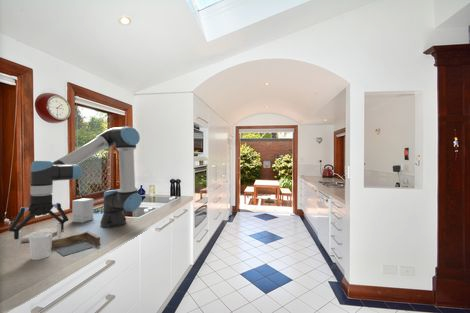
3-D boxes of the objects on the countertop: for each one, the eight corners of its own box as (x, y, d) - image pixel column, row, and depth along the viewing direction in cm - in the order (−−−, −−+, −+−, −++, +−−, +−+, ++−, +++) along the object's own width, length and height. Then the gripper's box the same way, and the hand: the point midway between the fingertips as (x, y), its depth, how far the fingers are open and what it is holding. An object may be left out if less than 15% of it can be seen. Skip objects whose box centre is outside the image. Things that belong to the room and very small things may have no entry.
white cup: (33, 254, 99) (34, 232, 99) (55, 251, 102) (55, 230, 102) (25, 262, 92) (25, 238, 92) (48, 258, 95) (48, 236, 95)
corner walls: (88, 238, 118) (88, 231, 118) (100, 244, 110) (100, 237, 110) (50, 248, 105) (50, 240, 105) (60, 256, 97) (60, 248, 97)
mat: (83, 241, 114) (83, 241, 114) (92, 247, 107) (92, 246, 107) (54, 249, 104) (54, 248, 104) (63, 256, 97) (63, 255, 97)
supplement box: (93, 219, 154) (94, 198, 154) (83, 222, 146) (83, 201, 146) (83, 218, 156) (83, 197, 156) (71, 222, 147) (72, 200, 147)
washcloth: (65, 231, 131) (65, 226, 131) (43, 242, 113) (43, 236, 113) (43, 231, 129) (43, 226, 129) (18, 243, 111) (18, 238, 111)
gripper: (71, 190, 109) (70, 232, 109) (-1, 197, 89) (-3, 248, 88) (77, 192, 105) (75, 235, 105) (2, 199, 84) (1, 253, 84)
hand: (40, 241), depth 96 cm, fingers open, 13 cm apart
